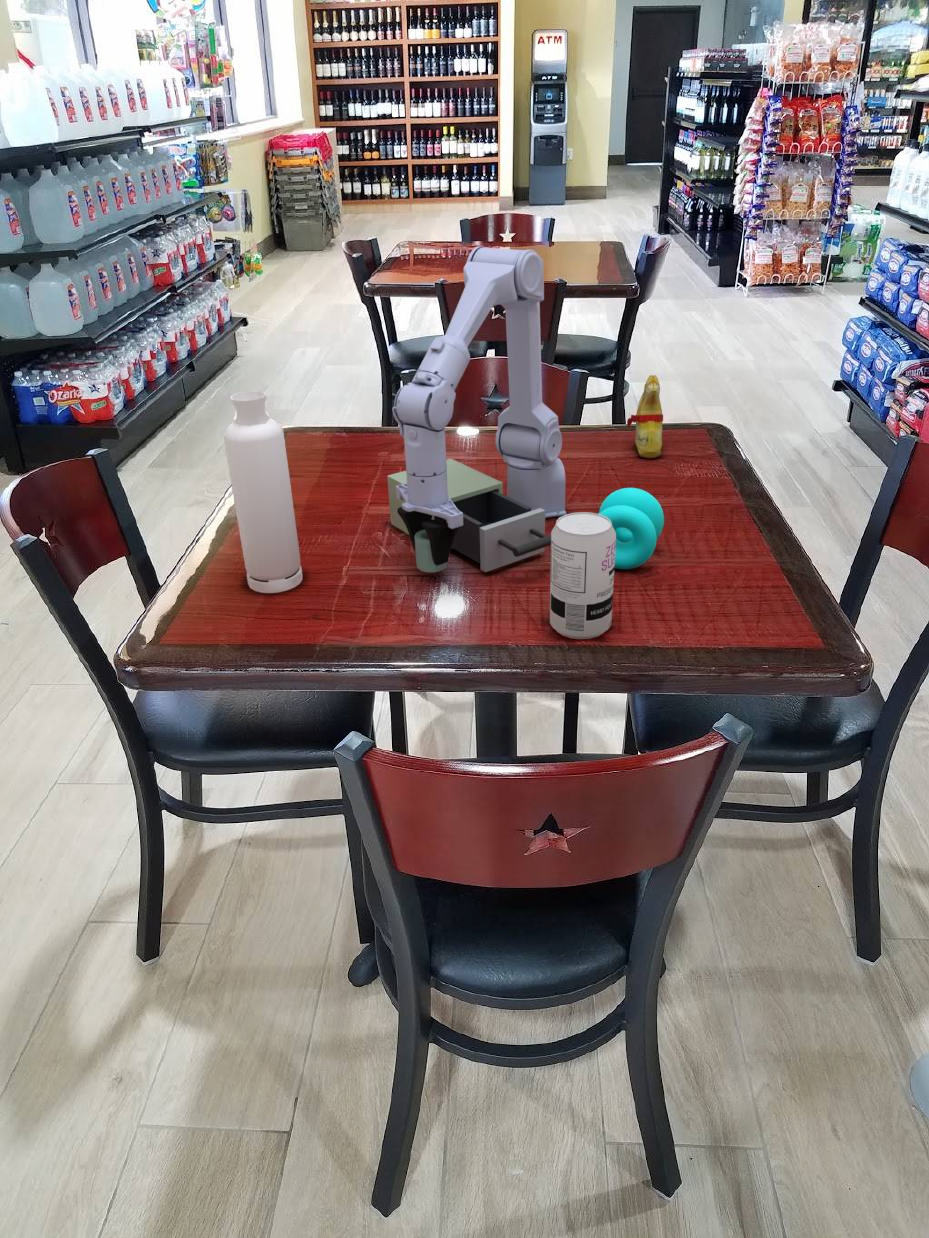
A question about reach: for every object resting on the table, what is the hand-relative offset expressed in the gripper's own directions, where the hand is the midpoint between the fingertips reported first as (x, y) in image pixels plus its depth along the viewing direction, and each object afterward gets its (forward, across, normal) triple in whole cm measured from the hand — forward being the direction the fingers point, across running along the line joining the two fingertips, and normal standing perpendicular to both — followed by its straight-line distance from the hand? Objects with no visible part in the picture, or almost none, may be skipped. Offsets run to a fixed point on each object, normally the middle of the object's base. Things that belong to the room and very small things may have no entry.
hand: (431, 556), depth 137 cm
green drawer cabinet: (+3, -13, +11) cm, 18 cm away
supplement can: (+3, +25, +7) cm, 26 cm away
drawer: (+2, +1, +11) cm, 12 cm away
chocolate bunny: (+3, -19, +62) cm, 65 cm away
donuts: (+3, +14, +26) cm, 30 cm away
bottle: (+3, -14, -19) cm, 24 cm away
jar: (+1, 0, 0) cm, 1 cm away
